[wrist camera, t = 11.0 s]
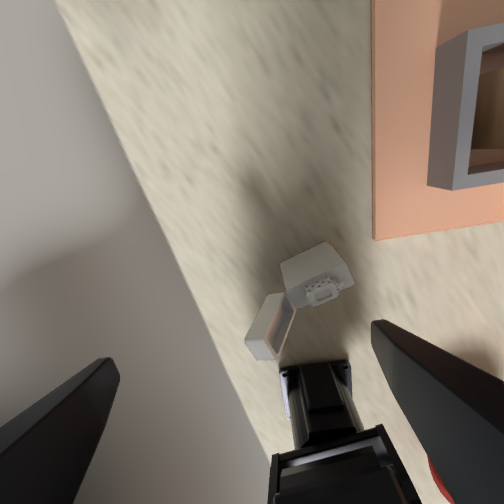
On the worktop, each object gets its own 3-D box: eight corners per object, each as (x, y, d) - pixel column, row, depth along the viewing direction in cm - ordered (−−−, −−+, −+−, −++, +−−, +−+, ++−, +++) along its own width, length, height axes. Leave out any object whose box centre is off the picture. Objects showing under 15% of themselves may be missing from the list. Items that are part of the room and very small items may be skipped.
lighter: (327, 240, 20) (370, 292, 13) (335, 258, 21) (382, 319, 13) (246, 279, 22) (242, 348, 14) (256, 295, 22) (257, 370, 15)
